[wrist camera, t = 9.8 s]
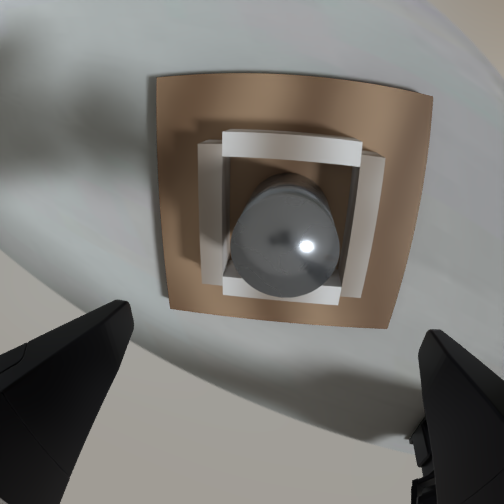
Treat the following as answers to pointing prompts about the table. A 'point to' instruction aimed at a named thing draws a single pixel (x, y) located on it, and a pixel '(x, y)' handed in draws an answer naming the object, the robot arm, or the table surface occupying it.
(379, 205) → the wooden board with frame
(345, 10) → the table surface
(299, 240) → the cylinder
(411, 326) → the table surface
